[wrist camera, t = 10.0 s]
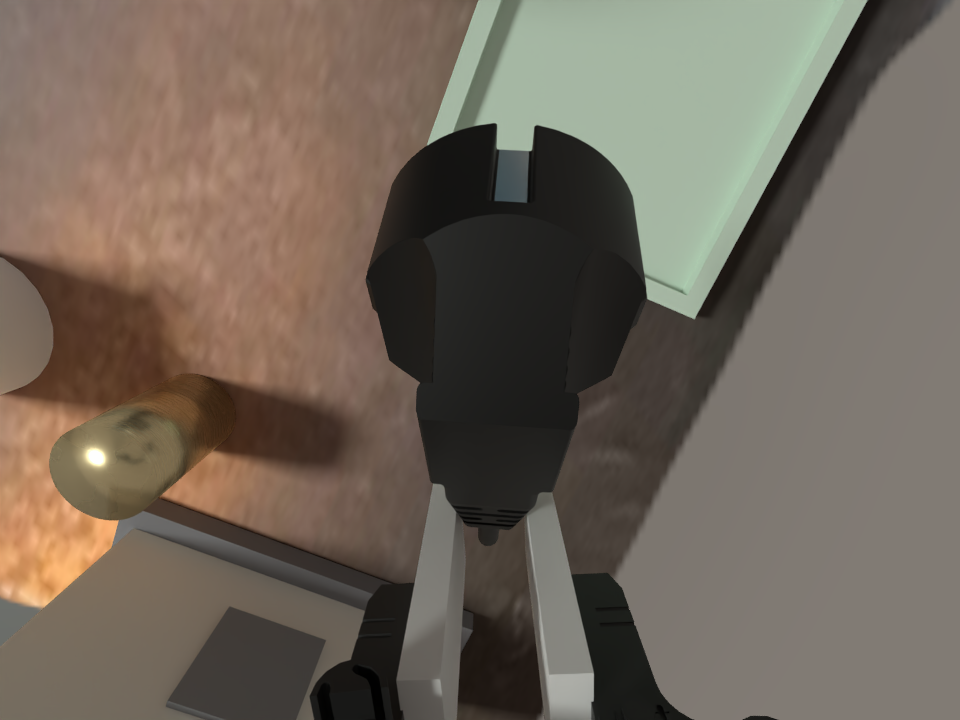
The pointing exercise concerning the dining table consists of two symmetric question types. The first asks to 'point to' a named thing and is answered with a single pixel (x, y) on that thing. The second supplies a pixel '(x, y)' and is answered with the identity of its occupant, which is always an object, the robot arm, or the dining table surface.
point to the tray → (656, 106)
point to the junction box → (187, 628)
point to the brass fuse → (141, 446)
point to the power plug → (504, 306)
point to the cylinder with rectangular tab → (22, 330)
